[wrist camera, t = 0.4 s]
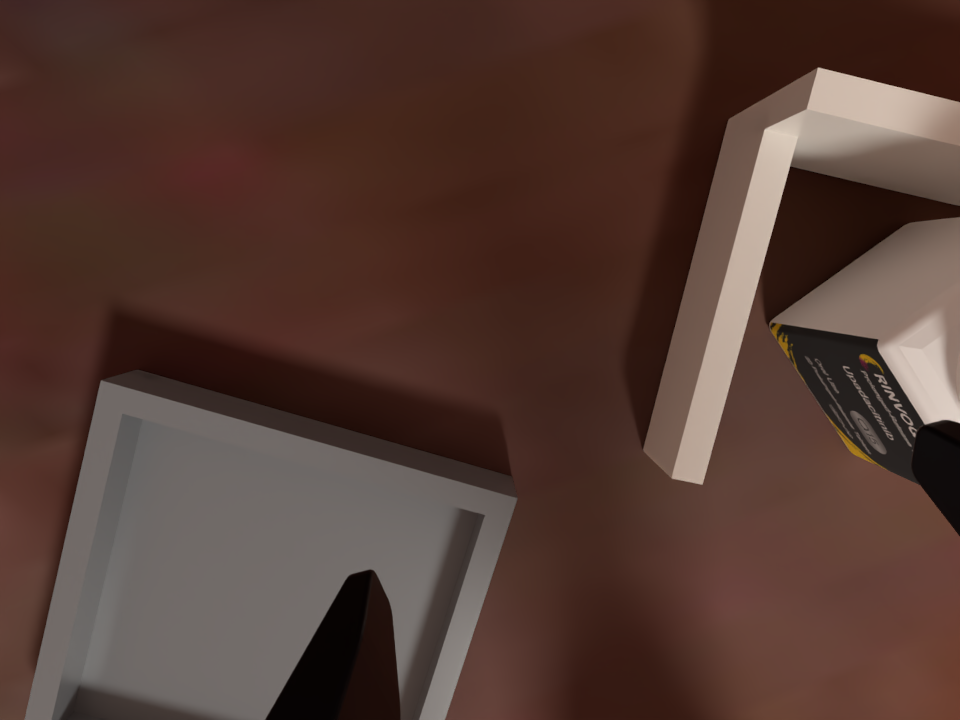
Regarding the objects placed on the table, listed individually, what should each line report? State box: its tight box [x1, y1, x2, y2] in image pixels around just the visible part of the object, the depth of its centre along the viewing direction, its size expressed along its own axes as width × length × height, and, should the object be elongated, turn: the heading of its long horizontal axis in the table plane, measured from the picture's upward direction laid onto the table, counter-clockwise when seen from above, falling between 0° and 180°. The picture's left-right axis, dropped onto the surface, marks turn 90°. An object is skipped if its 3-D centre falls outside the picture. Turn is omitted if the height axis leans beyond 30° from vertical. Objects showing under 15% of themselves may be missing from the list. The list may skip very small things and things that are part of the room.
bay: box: [643, 68, 960, 485], centre depth 22 cm, size 14×17×6 cm
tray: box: [25, 369, 517, 720], centre depth 25 cm, size 16×16×2 cm
